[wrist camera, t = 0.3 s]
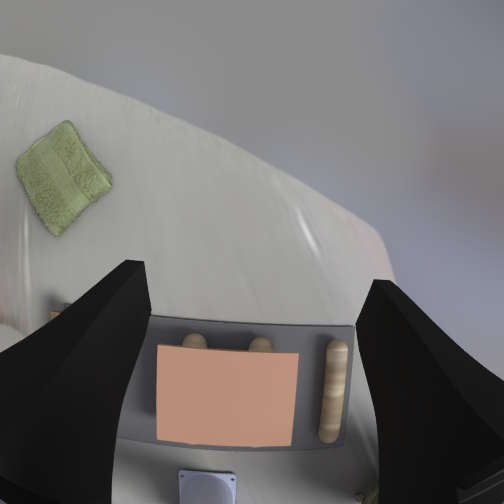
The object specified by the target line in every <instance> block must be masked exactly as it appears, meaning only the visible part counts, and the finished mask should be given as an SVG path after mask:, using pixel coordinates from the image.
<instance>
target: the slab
mask: <svg viewBox="0 0 504 504" xmlns="http://www.w3.org/2000/svg"><path fill="white" fill-rule="evenodd" d="M298 359H299V353H297V352H278V351H248V350H229V349H214V348H201V347H190V346H179V345H169V344H158V352H157V398H156V408H157V439H158V440H165V441H173V442H182V443H191V444H203V445H218V446H249V447H264V446H291V439H292V429H293V419H294V408H295V397H296V385H297V373H298Z"/></svg>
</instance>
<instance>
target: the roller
mask: <svg viewBox="0 0 504 504" xmlns="http://www.w3.org/2000/svg"><path fill="white" fill-rule="evenodd" d="M347 356H348V347H347V344H346V343H345V342H344V341H343V340H340V339H336V340H333V341H331V342H330V343H329V344H328V346H327V352H326V366H325V378H324V389H323V399H322V408H321V417H320V426H319V438H320V440H321V441H323V442H325V443H331V442H334V441H335V440H336V439H337V438H338V436H339V430H340V423H341V415H342V407H343V399H344V389H345V379H346V368H347Z"/></svg>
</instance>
